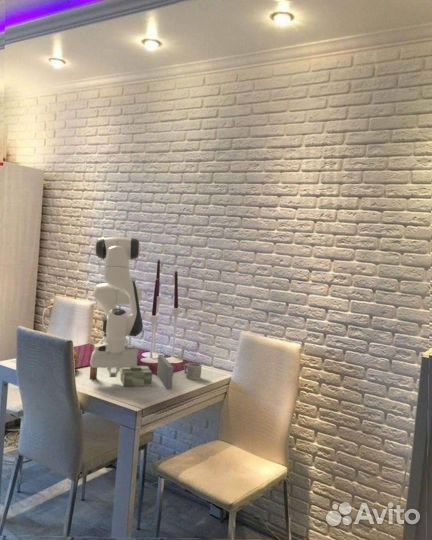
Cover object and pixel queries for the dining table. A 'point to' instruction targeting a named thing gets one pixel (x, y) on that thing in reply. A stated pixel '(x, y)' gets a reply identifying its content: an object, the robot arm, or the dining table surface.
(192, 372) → the mug
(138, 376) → the socket block
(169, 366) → the wall
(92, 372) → the dowel
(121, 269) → the robot arm
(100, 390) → the dining table surface
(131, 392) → the dining table surface
